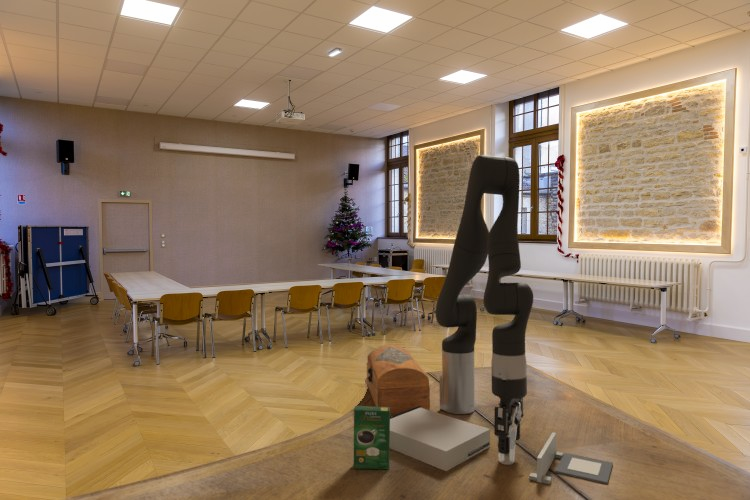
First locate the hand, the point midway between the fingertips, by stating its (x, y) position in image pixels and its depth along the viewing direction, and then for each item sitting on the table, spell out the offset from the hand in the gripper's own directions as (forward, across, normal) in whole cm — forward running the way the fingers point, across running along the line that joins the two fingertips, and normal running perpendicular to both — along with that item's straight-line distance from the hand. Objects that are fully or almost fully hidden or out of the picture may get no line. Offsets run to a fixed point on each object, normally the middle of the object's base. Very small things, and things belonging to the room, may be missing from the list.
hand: (509, 446), depth 109 cm
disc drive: (+4, 0, -19) cm, 20 cm away
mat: (+4, -5, +15) cm, 16 cm away
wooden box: (+4, -26, -43) cm, 51 cm away
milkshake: (+4, 0, 0) cm, 4 cm away
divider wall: (+4, -2, +8) cm, 9 cm away
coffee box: (+4, +17, -26) cm, 31 cm away
